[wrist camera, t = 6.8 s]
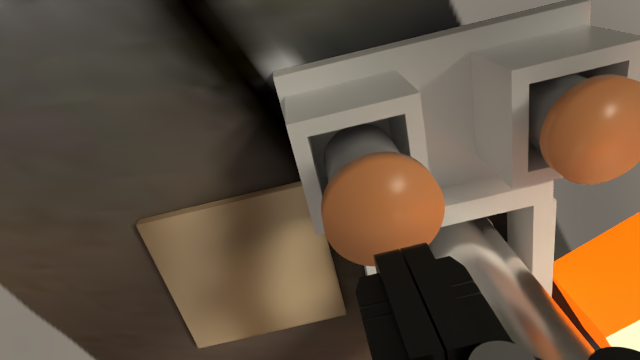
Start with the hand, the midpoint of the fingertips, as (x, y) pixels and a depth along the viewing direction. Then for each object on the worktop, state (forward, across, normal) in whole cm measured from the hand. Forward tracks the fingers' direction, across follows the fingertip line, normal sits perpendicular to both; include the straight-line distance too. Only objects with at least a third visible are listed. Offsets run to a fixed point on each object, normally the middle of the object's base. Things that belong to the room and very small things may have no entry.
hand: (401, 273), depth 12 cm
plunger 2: (+10, -9, 0) cm, 13 cm away
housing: (+12, -5, +5) cm, 14 cm away
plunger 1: (+8, 0, 0) cm, 8 cm away
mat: (+12, +7, +7) cm, 16 cm away
